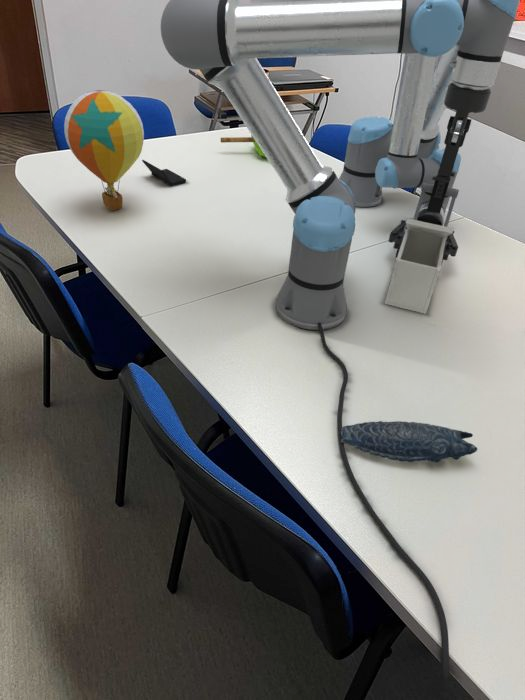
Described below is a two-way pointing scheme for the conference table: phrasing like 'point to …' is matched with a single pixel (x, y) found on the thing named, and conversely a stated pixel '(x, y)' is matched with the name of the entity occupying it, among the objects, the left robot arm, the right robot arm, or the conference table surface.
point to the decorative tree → (244, 139)
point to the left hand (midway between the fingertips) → (434, 209)
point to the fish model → (407, 440)
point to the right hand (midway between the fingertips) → (419, 257)
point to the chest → (416, 271)
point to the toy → (105, 138)
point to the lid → (428, 226)
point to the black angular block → (165, 175)
